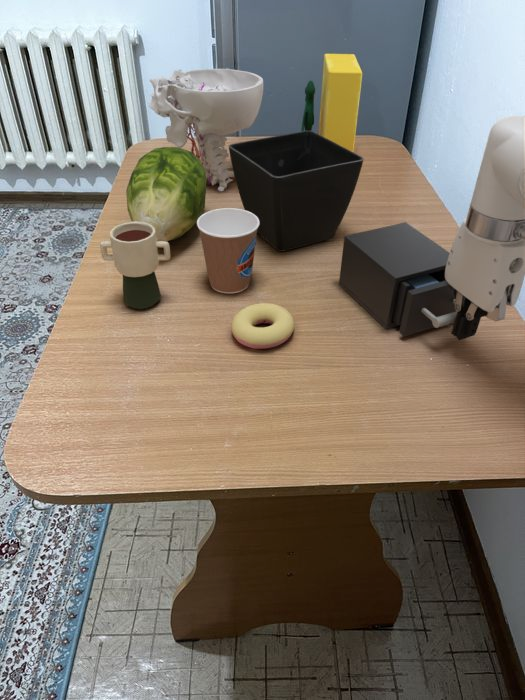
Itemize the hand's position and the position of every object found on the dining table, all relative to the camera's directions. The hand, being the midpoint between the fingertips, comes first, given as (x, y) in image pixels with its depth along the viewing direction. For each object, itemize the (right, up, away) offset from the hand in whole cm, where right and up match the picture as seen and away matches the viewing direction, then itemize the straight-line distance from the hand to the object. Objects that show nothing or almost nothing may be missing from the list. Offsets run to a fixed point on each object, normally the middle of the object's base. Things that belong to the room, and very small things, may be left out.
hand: (462, 334), depth 83 cm
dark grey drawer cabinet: (-7, +7, +14) cm, 17 cm away
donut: (-30, 0, +6) cm, 30 cm away
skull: (-42, +37, +51) cm, 76 cm away
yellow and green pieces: (-14, +45, +61) cm, 77 cm away
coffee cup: (-35, +9, +17) cm, 40 cm away
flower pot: (-24, +22, +32) cm, 46 cm away
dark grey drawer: (-5, +4, +9) cm, 11 cm away
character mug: (-50, +6, +12) cm, 52 cm away
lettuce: (-48, +21, +31) cm, 61 cm away
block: (-5, +5, +9) cm, 12 cm away
